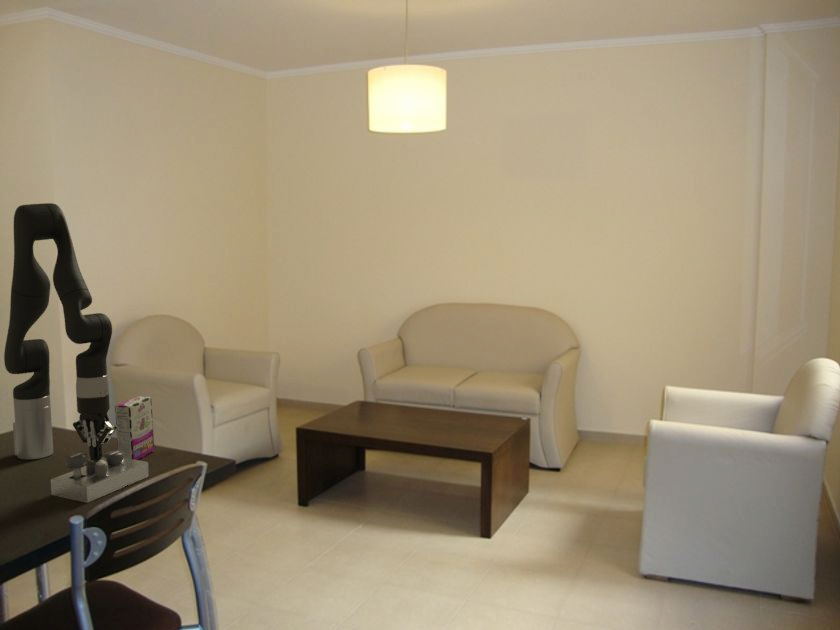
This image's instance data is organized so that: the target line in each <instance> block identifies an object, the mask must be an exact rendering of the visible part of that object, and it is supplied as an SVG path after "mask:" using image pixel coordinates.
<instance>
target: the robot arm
mask: <svg viewBox="0 0 840 630" xmlns="http://www.w3.org/2000/svg"><path fill="white" fill-rule="evenodd" d="M48 240H53V242H54V244H55V246H56V249H57V256H56V261H55V264H54V267H53V274H52V282H53V283H52V284H53V286H54V289H55V291H56V294H57V296H58V298H59V300H60V303H61V305H62V306H61V307H62V310H63V317H64V328H65V334H66V336H67V337H68V339H69V340H70V341H71V342H72V343H73V344H76V345H84V344H89V346H88V349H86V350H85V351H82V352H80V353H78V354H77V355H76V357H75V371H76V373H75V374H76V380H75V381H76V383H75V393H76V408H77V409H76V410H77V413H78V414H79V419H78V420H77V421H74V422H73V423H72V426H73V428H74V429H75V432H76V433H77V435H78V437H79V438H80V440H81V442H82V443H83V444H84V443H86V444H87V446H88V448H89V449H88V451H89V459H90V458H91V460H94V461H97V460H100V459H101V458H102V457H103V445H104V444H108V443H109V442H110V440H111V439H112V436H113V435H114V433H115V432H116V431H117V429H116V424H115V425H112V424H111V423H110V419H109V416H108V412H109V411H110V406H111V405H110V404H111V403H110V389H109V388H110V387H109V385H110V384H109V380H108V370H107V369H108V368H107V357H108V353H109V348H110V344H111V341H112V340H111V339H112V337H113V336H112V335H113V324H112V321H111V319H110V318H109V316H107V314H105V313H103V312H101V313H100V312H97V313H89V314H88V313H87V314H82V311H83V310H86V309H87V308H89V307H90V306H91V304H92V303H93V297H92V295H91V292H90V290H89V288H88V285H87V282H86V281H85V279H84V276H83V275H82V272H81V269H80V267H79V263H78V260H77V256H76V251H75V248H74V244H73V239H72V237H71V233H70V229H69V226H68V221H67V220H66V216H65V214H64V211H63V210H62V209H61V207H60V206H59V205H58V204H56V203H51V202H48V203H46V202H45V203H31V204H30V203H29V204H22V205H19V206H18V207H16V209H15V212H14V215H13V253H14V254H13V270H12V280H11V287H10V304H9V305H10V306H9V307H10V309H9V310H10V311H9V321H8V330H7V334H6V339H5V347H4V355H3V357H4V358H3V359H4V360H3V362H4V368H5V370H6V371H7V373H9V374H11V375H23V374H31V373H33V374H32V375H31V376H30V378H28V379H27V380H26V381H24V382H22V383H19V384H18V385H16V386H14V387H13V390H12V396H13V411H14V414H13V415H14V422H13V423H12V428H13V429H12V430H13V431H12V432H13V447H14V456H17V458H18V459H20V460H38V459H42V458H46V457H49V456H51V455H53V454H54V442H53V441H54V440H53V439H54V438H53V424H52V405H51V404H52V403H51V393H50V391H51V390H50V388H51V387H50V386H51V380H50V376H51V375H50V361H51V360H50V358H51V357H50V348H49V344H48V342H46V340H44V339H42V338H35V339H26V340H25V337H26V335H27V333H28V332H29V331H30V329H31V328H32V326H33V325H34V324H35V323H36V322H37V321H39V319H40V318H41V317H42V315H43V314H44V313H45V311H47V308H48V307H49V304H50V293H51V281H50V279H49V277H48V275H47V273H46V271H44V269H43V268H42V266H41V265H40V263H39V262H38V260H37V258H36V256H35V254H34V243H35V242H36V241H48Z"/></svg>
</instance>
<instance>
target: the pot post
mask: <svg viewBox="0 0 840 630" xmlns="http://www.w3.org/2000/svg"><path fill="white" fill-rule="evenodd" d="M95 477H96V478H105V477H108V463H107V462H106V461H99V462H96V464H95Z"/></svg>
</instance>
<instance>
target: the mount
mask: <svg viewBox="0 0 840 630" xmlns="http://www.w3.org/2000/svg"><path fill="white" fill-rule="evenodd" d="M149 476H150V475H149V461H145V460H141V459H140V460H134V459H129V458H125V462H124V463H122V464H120V465H113V466H110V465H108V477H105V478H96V477H95V473H90V472H87V471H86V466H84V467H81V479H78V480H75V479H73V470H72V471H69V472H67V473H64V474H62V475H58V476H56V477H53V478H51V479H50V490H51V493H50V494H51V496H55V497H59V498H64V499H69V500H72V501H77V502H81V503H82V502H83V503H85V504H88V503H91V502H93V501H95V500H98V499H100V498H102V497H105V496H106V495H109V494H111V493H114V492H115V491H119V490H121V489H123V488H125V486H126V487H127V485H128V486H131V485H133V484H134V483H135V484H136V482H137V483H138V482H139V481H142V480H144V479H147V478H148V477H149Z"/></svg>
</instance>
